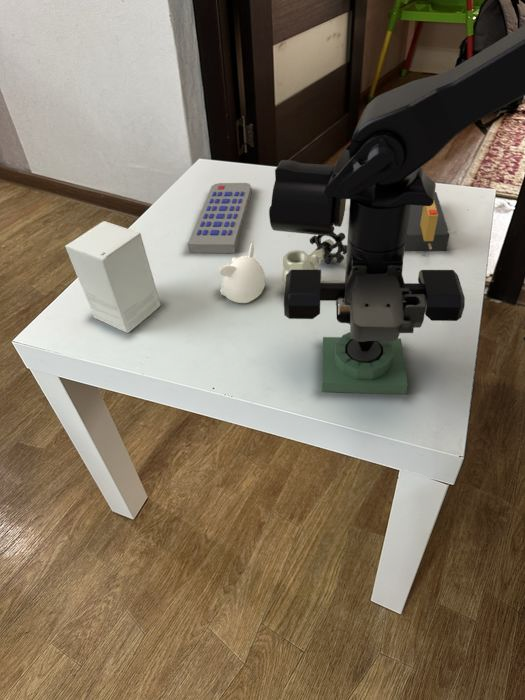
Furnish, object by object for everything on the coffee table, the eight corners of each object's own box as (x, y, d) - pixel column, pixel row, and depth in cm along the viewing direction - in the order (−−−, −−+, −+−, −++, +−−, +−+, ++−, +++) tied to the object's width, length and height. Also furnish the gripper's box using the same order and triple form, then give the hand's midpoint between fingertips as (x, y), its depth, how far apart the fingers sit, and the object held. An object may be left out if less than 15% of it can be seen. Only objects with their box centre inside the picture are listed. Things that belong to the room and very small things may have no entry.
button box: (399, 347, 65) (402, 327, 62) (405, 394, 59) (410, 374, 57) (322, 346, 66) (323, 326, 64) (321, 391, 60) (322, 372, 58)
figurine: (243, 272, 79) (239, 236, 75) (276, 284, 76) (274, 248, 72) (211, 299, 75) (205, 263, 70) (245, 313, 72) (241, 276, 67)
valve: (308, 308, 72) (348, 266, 78) (308, 271, 67) (350, 230, 74) (271, 294, 75) (312, 255, 81) (268, 257, 70) (312, 219, 77)
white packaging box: (162, 305, 74) (142, 232, 66) (127, 335, 70) (101, 260, 61) (128, 290, 78) (104, 218, 69) (92, 318, 74) (62, 245, 65)
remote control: (189, 253, 84) (186, 242, 83) (214, 189, 100) (213, 179, 98) (235, 254, 83) (233, 243, 82) (253, 189, 99) (252, 179, 97)
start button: (378, 347, 63) (379, 337, 61) (380, 370, 60) (382, 360, 58) (346, 347, 63) (347, 336, 62) (347, 369, 60) (348, 359, 59)
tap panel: (439, 207, 89) (443, 190, 87) (457, 265, 77) (462, 248, 74) (354, 208, 91) (356, 192, 89) (358, 265, 78) (360, 248, 76)
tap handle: (420, 224, 80) (424, 197, 77) (428, 224, 80) (434, 197, 77) (423, 241, 77) (429, 213, 73) (433, 241, 76) (438, 213, 73)
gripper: (277, 286, 45) (283, 397, 56) (494, 287, 42) (456, 402, 53) (285, 221, 52) (289, 330, 63) (468, 219, 50) (440, 332, 61)
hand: (364, 348), depth 60 cm, fingers closed, pressing on start button
